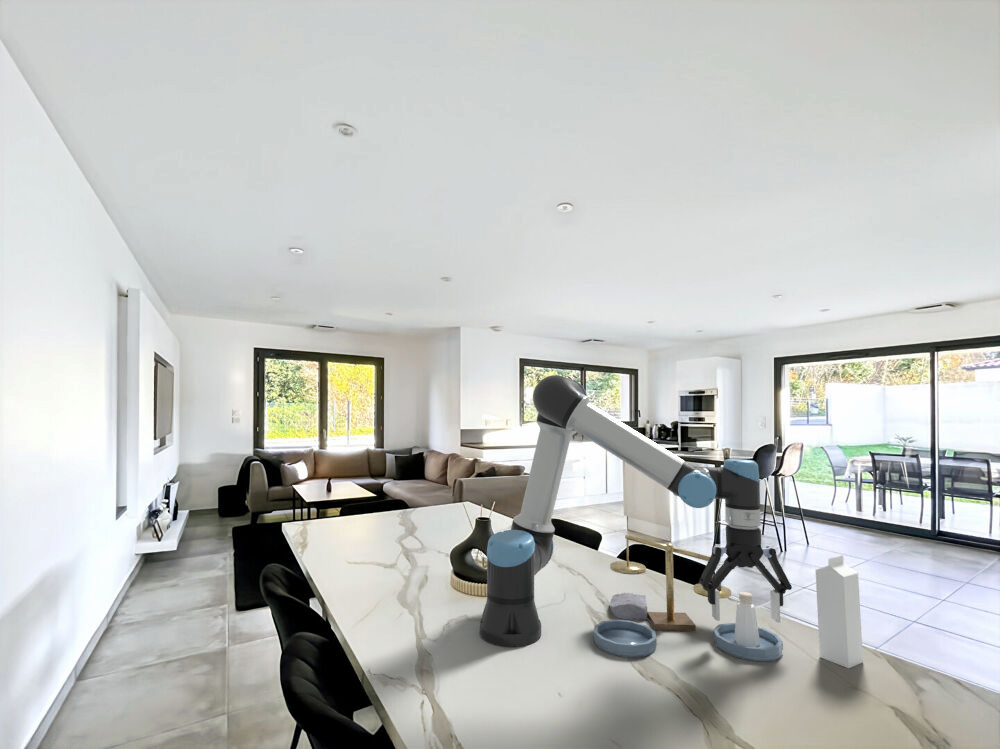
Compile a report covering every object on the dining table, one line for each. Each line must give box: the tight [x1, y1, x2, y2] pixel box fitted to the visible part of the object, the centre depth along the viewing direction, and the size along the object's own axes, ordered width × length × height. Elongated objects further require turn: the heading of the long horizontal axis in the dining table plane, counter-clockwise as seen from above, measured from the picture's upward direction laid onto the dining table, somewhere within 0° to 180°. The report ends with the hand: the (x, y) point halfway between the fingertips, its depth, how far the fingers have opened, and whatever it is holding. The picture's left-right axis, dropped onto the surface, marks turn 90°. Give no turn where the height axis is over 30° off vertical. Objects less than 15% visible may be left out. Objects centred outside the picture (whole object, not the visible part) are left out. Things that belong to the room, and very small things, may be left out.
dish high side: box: [593, 619, 657, 659], centre depth 118 cm, size 14×14×3 cm
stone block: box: [609, 592, 648, 621], centre depth 138 cm, size 12×5×10 cm
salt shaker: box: [734, 591, 760, 647], centre depth 116 cm, size 5×5×11 cm
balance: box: [609, 534, 732, 632], centre depth 130 cm, size 30×9×22 cm, turn 87°
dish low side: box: [712, 622, 784, 663], centre depth 116 cm, size 14×14×3 cm
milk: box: [815, 554, 864, 669], centre depth 111 cm, size 6×6×22 cm
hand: (745, 619), depth 117 cm, fingers open, 13 cm apart
